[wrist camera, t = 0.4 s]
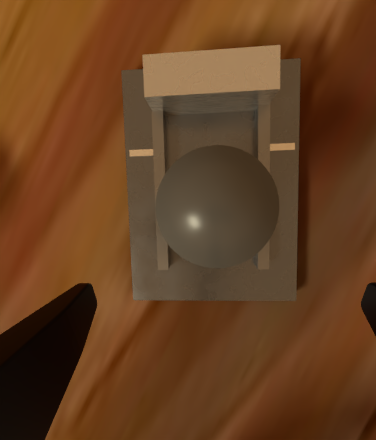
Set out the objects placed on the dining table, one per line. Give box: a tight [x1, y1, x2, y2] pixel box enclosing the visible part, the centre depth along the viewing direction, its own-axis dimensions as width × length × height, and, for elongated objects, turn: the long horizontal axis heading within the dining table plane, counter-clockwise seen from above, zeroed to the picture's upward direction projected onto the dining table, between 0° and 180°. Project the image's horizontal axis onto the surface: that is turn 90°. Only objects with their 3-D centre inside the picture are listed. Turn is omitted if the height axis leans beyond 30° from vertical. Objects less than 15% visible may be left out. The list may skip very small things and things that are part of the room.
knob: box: [155, 145, 279, 268], centre depth 17 cm, size 7×7×9 cm
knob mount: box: [122, 45, 301, 301], centre depth 20 cm, size 22×16×6 cm
